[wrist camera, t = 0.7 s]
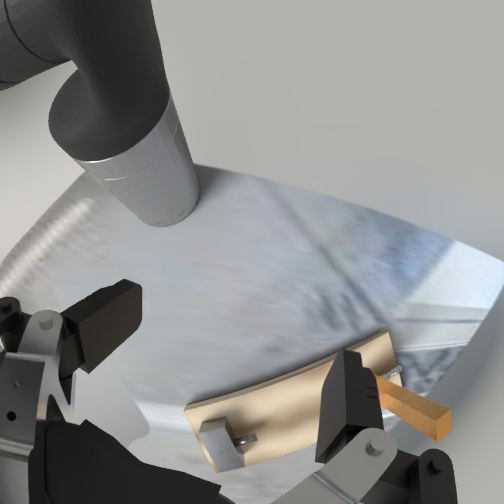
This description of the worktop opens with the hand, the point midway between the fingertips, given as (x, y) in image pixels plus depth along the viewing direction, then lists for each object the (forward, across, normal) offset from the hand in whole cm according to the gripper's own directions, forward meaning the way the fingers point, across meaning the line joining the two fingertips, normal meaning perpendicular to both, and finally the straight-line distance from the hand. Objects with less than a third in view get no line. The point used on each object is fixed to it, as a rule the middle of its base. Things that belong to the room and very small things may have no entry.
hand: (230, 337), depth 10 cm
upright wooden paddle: (+17, -14, +15) cm, 26 cm away
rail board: (+15, -7, +20) cm, 26 cm away
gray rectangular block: (+10, -1, +23) cm, 25 cm away
